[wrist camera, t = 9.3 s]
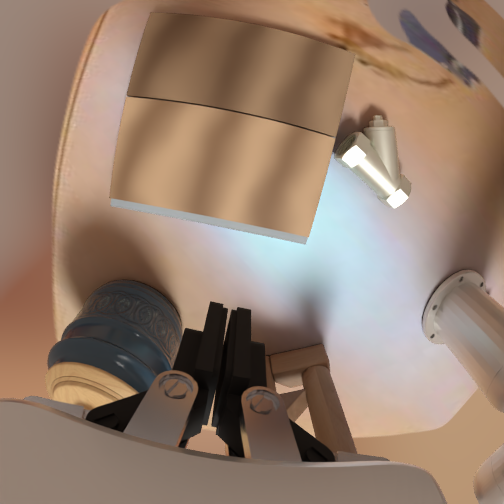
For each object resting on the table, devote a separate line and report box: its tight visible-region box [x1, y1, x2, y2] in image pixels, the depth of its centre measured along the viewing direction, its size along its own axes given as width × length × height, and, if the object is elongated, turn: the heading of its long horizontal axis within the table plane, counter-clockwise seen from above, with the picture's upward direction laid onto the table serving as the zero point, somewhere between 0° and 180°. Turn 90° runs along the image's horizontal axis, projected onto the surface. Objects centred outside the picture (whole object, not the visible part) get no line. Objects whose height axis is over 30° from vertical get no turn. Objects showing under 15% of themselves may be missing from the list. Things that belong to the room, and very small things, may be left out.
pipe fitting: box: [334, 115, 411, 208], centre depth 27 cm, size 8×4×7 cm
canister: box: [45, 280, 183, 410], centre depth 27 cm, size 13×13×18 cm
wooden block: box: [265, 344, 357, 454], centre depth 30 cm, size 4×11×18 cm, turn 102°
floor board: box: [127, 12, 355, 137], centre depth 24 cm, size 20×9×2 cm, turn 77°
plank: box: [109, 97, 336, 237], centre depth 27 cm, size 20×10×2 cm, turn 77°
